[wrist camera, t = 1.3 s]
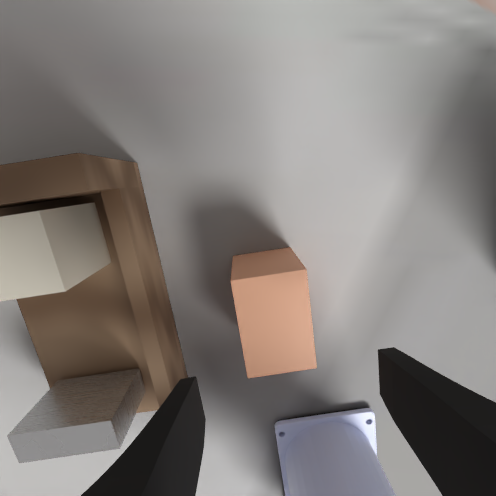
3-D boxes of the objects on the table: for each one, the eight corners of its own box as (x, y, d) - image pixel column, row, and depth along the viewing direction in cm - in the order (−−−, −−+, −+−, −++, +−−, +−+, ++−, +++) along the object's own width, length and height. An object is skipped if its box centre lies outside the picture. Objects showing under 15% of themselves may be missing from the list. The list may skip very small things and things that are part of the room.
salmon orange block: (289, 246, 19) (306, 269, 14) (299, 324, 21) (317, 368, 16) (232, 255, 19) (230, 280, 15) (245, 332, 21) (247, 378, 16)
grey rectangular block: (145, 391, 21) (119, 448, 16) (66, 403, 21) (19, 463, 16) (139, 368, 20) (110, 420, 16) (57, 380, 20) (7, 435, 16)
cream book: (111, 262, 19) (65, 291, 14) (23, 275, 19) (-54, 309, 14) (94, 202, 18) (38, 210, 13) (1, 216, 18) (-89, 230, 13)
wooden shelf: (192, 398, 22) (173, 489, 16) (68, 417, 22) (-3, 514, 16) (136, 162, 18) (77, 152, 11) (-18, 187, 18) (-163, 191, 11)
